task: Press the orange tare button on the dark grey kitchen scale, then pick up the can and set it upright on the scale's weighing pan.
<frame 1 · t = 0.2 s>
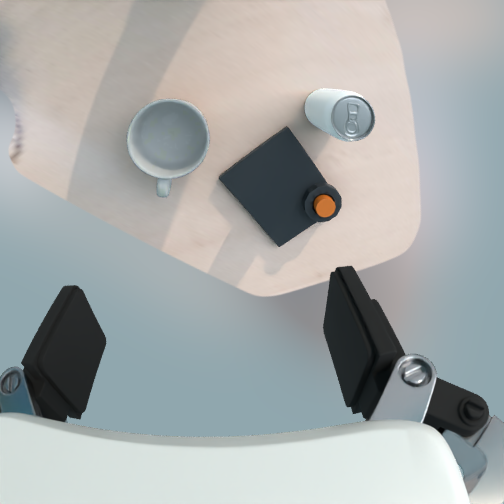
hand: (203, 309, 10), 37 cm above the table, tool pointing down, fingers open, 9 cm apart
tare button: (324, 205, 45), point 3 cm above the table, slide at 0.1 cm
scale: (282, 188, 47), on the table
can: (323, 108, 40), on the table
teacup: (174, 140, 42), on the table
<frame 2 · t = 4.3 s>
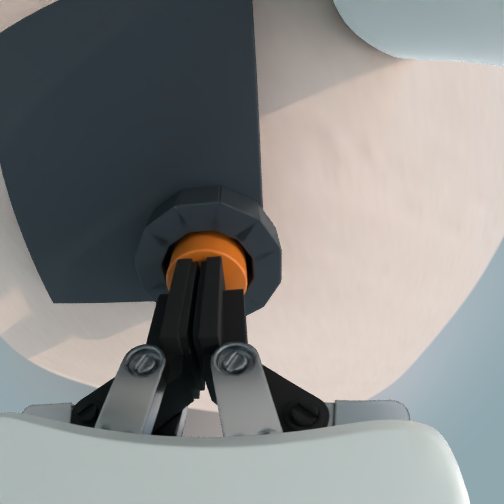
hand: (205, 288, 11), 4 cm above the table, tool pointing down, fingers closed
tare button: (207, 271, 12), point 3 cm above the table, slide at -0.4 cm, touching gripper
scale: (114, 148, 12), on the table
can: (388, 0, 9), on the table
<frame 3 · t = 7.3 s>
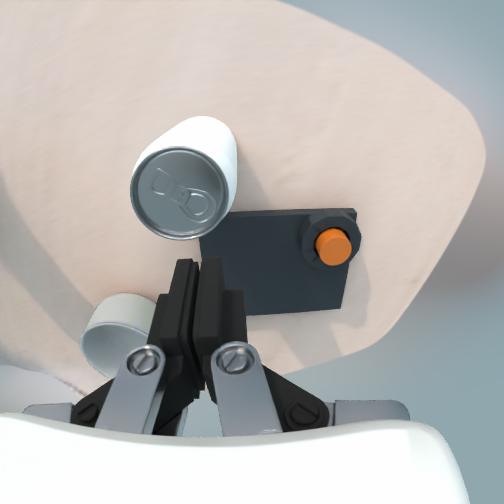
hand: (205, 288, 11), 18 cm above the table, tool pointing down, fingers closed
tare button: (333, 246, 28), point 3 cm above the table, slide at 0.1 cm
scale: (277, 263, 33), on the table
can: (201, 149, 26), on the table
teacup: (146, 319, 37), on the table
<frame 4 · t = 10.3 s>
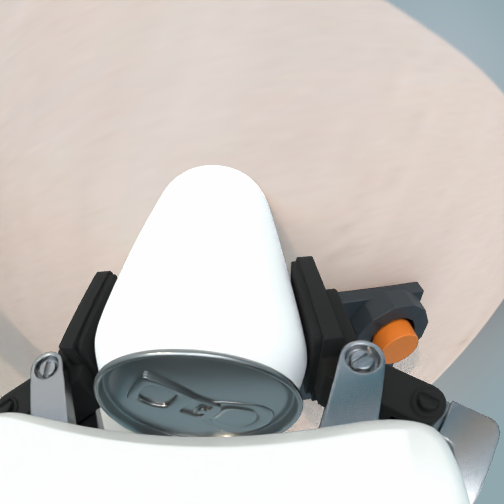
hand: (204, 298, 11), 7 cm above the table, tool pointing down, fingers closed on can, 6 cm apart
tare button: (395, 341, 19), point 3 cm above the table, slide at 0.1 cm
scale: (315, 350, 24), on the table
can: (213, 215, 17), on the table, touching gripper
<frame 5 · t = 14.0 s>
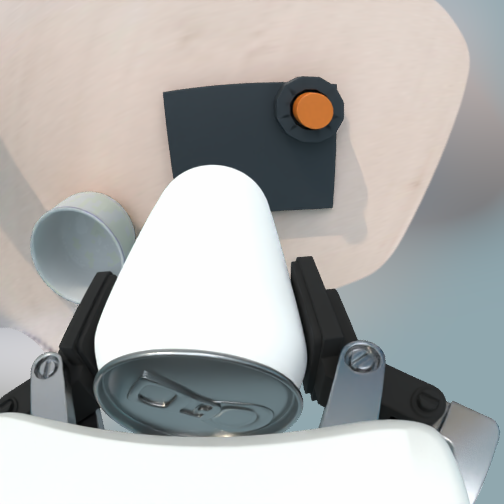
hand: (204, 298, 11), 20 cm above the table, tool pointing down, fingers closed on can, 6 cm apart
tare button: (312, 110, 23), point 3 cm above the table, slide at 0.1 cm
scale: (253, 147, 28), on the table
can: (213, 215, 17), point 13 cm above the table, touching gripper
teacup: (110, 232, 32), on the table
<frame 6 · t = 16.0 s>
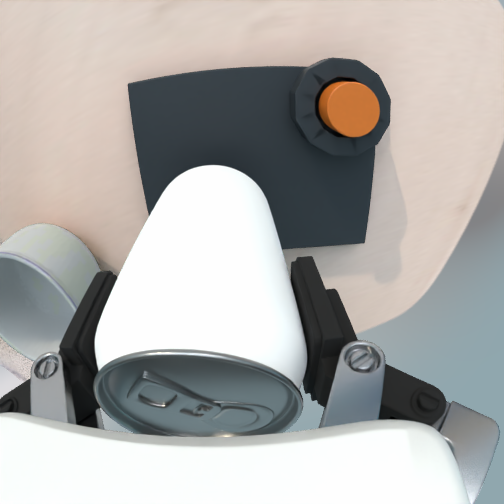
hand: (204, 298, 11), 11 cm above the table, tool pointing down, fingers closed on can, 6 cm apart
tare button: (349, 108, 15), point 3 cm above the table, slide at 0.1 cm
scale: (259, 160, 20), on the table
can: (213, 215, 17), point 4 cm above the table, touching gripper
teacup: (76, 271, 24), on the table
when the fingers open (8 cm above the table, at t = 17.5 s): can stays where it is, resting on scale.
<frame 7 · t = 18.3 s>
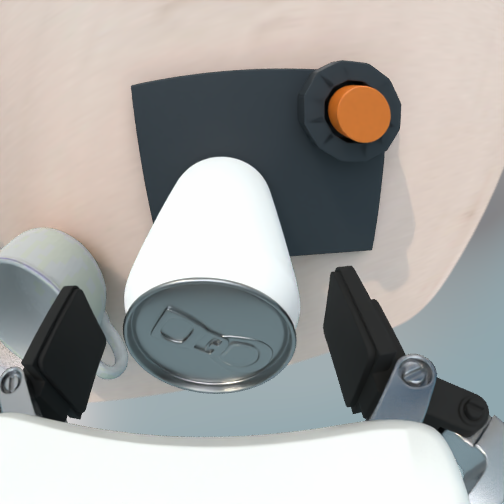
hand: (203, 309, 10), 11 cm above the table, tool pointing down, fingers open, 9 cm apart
tare button: (359, 112, 14), point 3 cm above the table, slide at 0.1 cm
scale: (266, 165, 19), on the table
can: (221, 201, 19), point 1 cm above the table, touching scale
teacup: (78, 275, 23), on the table
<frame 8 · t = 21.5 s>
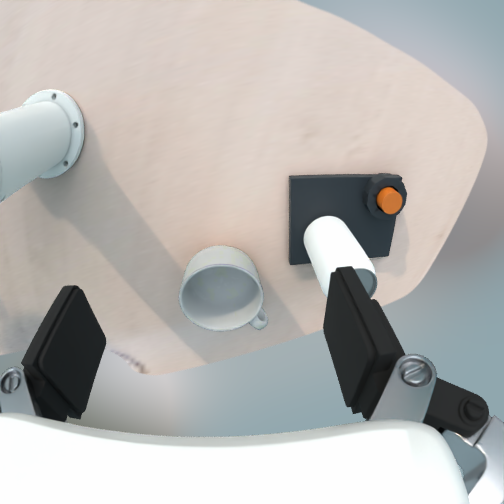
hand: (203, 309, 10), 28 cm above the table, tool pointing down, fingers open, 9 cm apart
tare button: (389, 200, 36), point 3 cm above the table, slide at 0.1 cm
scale: (344, 217, 41), on the table
can: (324, 234, 41), point 1 cm above the table, touching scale
teacup: (228, 272, 45), on the table
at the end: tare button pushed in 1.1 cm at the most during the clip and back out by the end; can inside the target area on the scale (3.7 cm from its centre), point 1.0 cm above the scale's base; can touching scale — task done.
